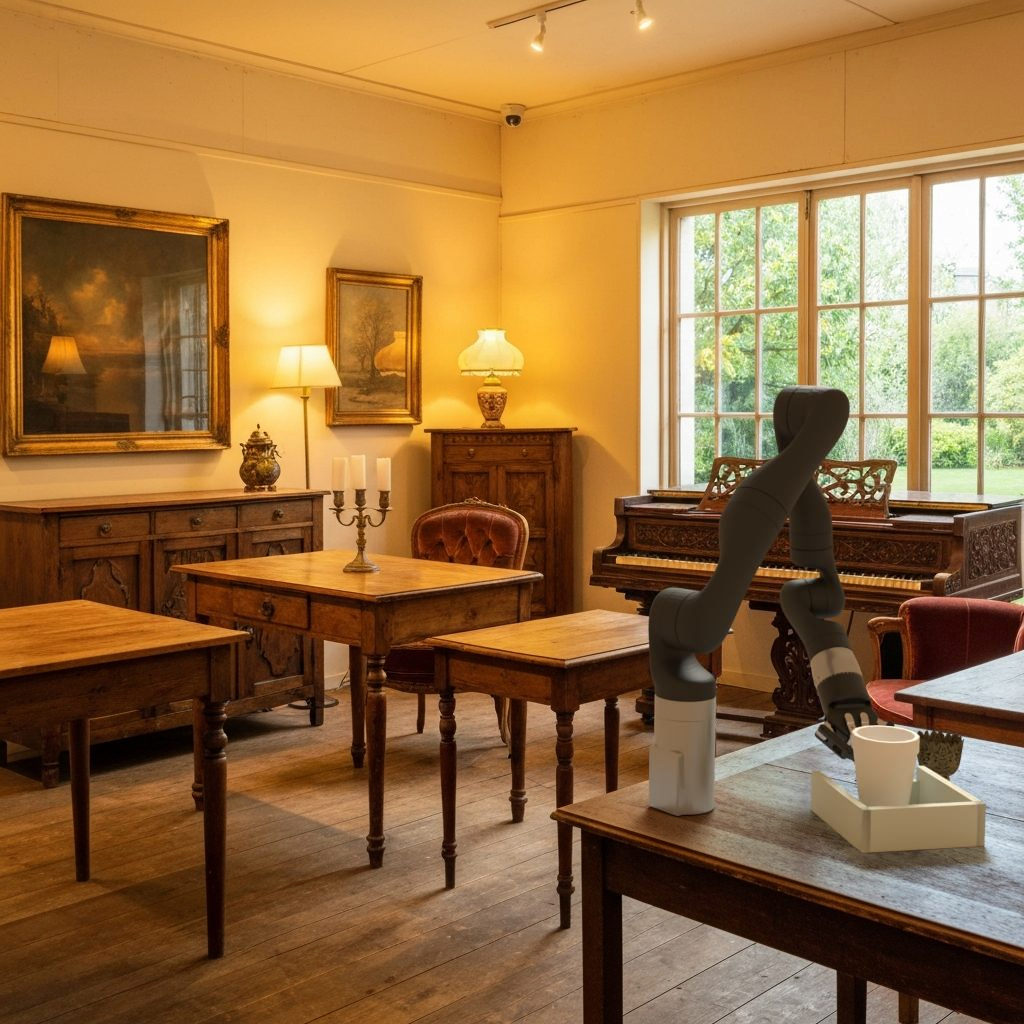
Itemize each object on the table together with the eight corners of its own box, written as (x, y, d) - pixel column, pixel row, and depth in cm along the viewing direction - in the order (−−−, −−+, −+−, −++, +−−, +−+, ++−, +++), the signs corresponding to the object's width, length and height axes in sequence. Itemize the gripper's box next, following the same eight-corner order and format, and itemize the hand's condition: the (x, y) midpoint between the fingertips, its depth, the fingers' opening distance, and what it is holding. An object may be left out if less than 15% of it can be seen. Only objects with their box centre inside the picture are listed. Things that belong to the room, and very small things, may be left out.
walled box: (810, 809, 186) (811, 770, 185) (922, 803, 188) (923, 765, 188) (861, 852, 168) (862, 810, 167) (984, 845, 170) (985, 803, 170)
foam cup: (887, 835, 174) (890, 746, 173) (836, 817, 182) (838, 731, 181) (929, 822, 180) (932, 736, 179) (878, 805, 187) (881, 722, 186)
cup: (965, 792, 194) (967, 742, 193) (916, 789, 195) (918, 740, 194) (958, 778, 201) (960, 730, 200) (911, 775, 202) (912, 728, 202)
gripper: (806, 671, 193) (837, 771, 182) (886, 668, 195) (921, 767, 184) (793, 696, 198) (822, 794, 187) (870, 693, 200) (903, 790, 189)
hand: (871, 780), depth 186 cm, fingers closed
